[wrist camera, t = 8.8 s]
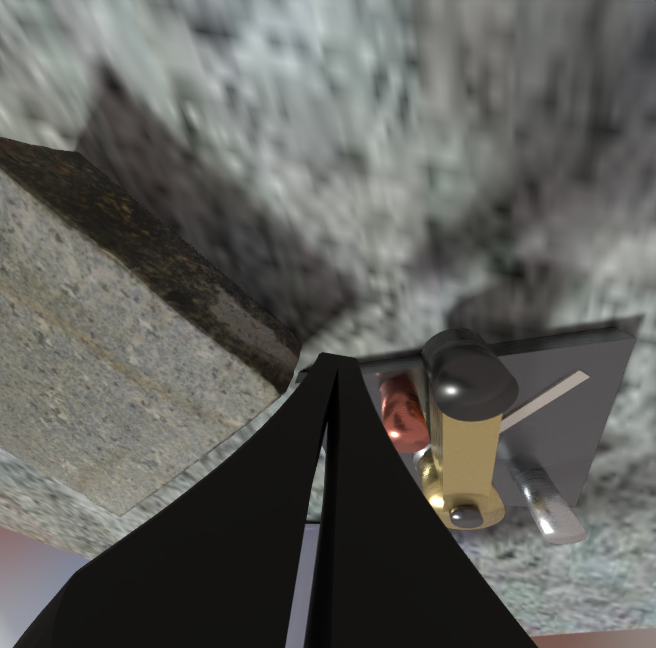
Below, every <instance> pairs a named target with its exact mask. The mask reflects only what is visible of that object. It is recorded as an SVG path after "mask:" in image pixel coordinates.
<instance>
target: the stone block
mask: <svg viewBox="0 0 656 648" xmlns="http://www.w3.org/2000/svg"><path fill="white" fill-rule="evenodd" d="M301 347H302V344H301V343H300V342H299V341H298V340H297V339H296V338H295V337H294V336H293V333H292V332H291V331H290V330H288V329H287V328H286V327H285V326H283V325H282V324H281V323H280V322H278V321H277V320H276V319H275V318H273V317H272V316H271V315H270V314H269V313H268V312H266V311H265V310H264V309H262V308H261V307H260V306H259V305H258V303H257V302H256V301H255V300H253V299H252V298H250V297H249V296H248V295H247V294H246V293H245V292H244V291H243V290H242V289H241V288H240V287H239V286H237V285H236V284H235V283H234V282H232V281H231V280H230V279H228V278H227V277H226V276H225V275H223V274H222V273H221V272H220V271H218V270H217V269H216V267H214V266H213V265H212V264H211V263H210V262H208V261H207V260H206V259H205V258H203V257H202V256H201V255H200V254H199V253H198V252H197V251H196V250H195V249H194V248H193V247H191V246H190V245H189V244H188V243H186V242H185V241H184V240H182V239H181V238H180V237H178V236H177V235H176V234H174V233H173V232H172V231H171V230H169V229H168V228H167V227H166V226H165V225H164V224H163V223H162V222H161V221H160V220H159V219H157V218H156V217H155V216H154V215H153V214H151V213H150V212H149V211H148V210H146V209H145V208H144V207H143V206H141V205H140V204H139V203H138V202H136V201H135V200H134V199H133V198H132V197H131V196H130V195H128V194H127V193H126V192H125V191H123V190H121V189H120V188H119V187H118V186H117V185H116V183H114V182H113V181H112V180H111V179H110V178H108V177H107V176H106V175H105V174H104V173H102V172H101V171H100V170H99V169H98V168H96V167H95V166H94V165H93V164H91V163H90V162H89V161H88V160H87V159H85V158H84V157H83V156H82V155H81V154H79V153H78V152H72V151H64V150H55V149H51V148H48V147H44V146H37V145H30V144H27V143H23V142H19V141H15V140H11V139H7V138H3V137H0V448H2V449H4V450H5V451H7V452H9V453H10V454H12V455H13V456H15V457H17V458H19V459H20V460H22V461H24V462H26V463H28V464H30V465H32V466H33V467H35V468H37V469H38V470H40V471H41V472H43V473H45V474H47V475H49V476H51V477H53V478H54V479H56V480H58V481H60V482H61V483H63V484H64V485H66V486H67V487H69V488H71V489H73V490H74V491H76V492H78V493H81V494H84V495H85V496H86V497H87V498H88V499H89V500H90V501H92V502H94V503H96V504H97V505H99V506H101V507H103V508H104V509H106V510H108V511H109V512H111V513H114V514H116V515H118V516H119V517H120V516H122V515H124V514H125V513H127V512H128V511H130V510H131V509H132V508H134V507H136V506H138V505H139V504H140V503H141V502H143V501H144V500H145V499H146V498H148V497H149V496H151V495H152V494H154V493H155V492H157V491H158V490H160V489H161V488H162V487H163V486H164V485H166V484H167V483H169V482H170V481H172V480H173V479H175V478H176V477H178V476H179V475H180V474H181V473H183V472H184V471H185V470H186V469H188V468H189V467H190V466H192V465H193V464H194V463H196V462H197V461H199V460H201V459H202V458H204V457H205V456H206V455H207V454H208V453H210V452H211V451H212V450H213V449H215V448H216V447H217V446H219V445H220V444H221V443H222V442H224V441H225V440H227V439H229V438H230V437H231V436H232V435H234V434H235V433H236V432H237V431H238V430H240V429H241V428H243V427H244V426H245V425H247V424H248V423H249V422H251V421H252V420H253V419H254V418H255V417H256V416H257V415H259V414H260V413H261V412H262V411H264V410H265V409H266V408H267V407H269V406H270V405H271V404H273V403H274V402H275V401H276V400H277V399H278V398H280V397H281V396H282V395H283V394H284V393H285V392H286V391H287V389H288V386H289V384H290V382H291V380H292V378H293V375H294V370H295V367H296V365H297V362H298V360H299V356H300V351H301Z"/></svg>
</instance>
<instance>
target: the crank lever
mask: <svg viewBox="0 0 656 648" xmlns="http://www.w3.org/2000/svg"><path fill="white" fill-rule="evenodd" d="M421 360H422V363H423V366H424V369H425V372H426V375H427V378H428V380H429V402H430V429H431V451H430V452H428V453H426V454H425V455H423V456H422V457H421V458H420V460H419V461H418V464H417V469H418V474H419V479H420V484H421V489H422V493H423V494H424V496H425V497H426V499H427V500H428V501H429V503H430V504H431V506H432V507H433V509H434V510H435V512H436V513H437V514H438V516H439V517H440V519H441V520H442V522H443V523H444V524H445V526H446V527H447V528H451V529H458V530H474V529H482V528H486V527H489V526H492V525H494V524H496V523H498V522H499V521H501V520H502V519H503V517H504V516H505V508H504V505H503V503H502V501H501V499H500V496H499V494H498V492H497V490H496V488H495V485H494V483H493V481H492V476H493V470H494V463H495V457H496V451H497V445H498V438H499V432H500V426H501V420H502V413H503V412H505V411H506V410H508V409H509V408H510V407H511V406H512V405H513V404H514V402H515V401H516V399H517V397H518V393H519V386H518V383H517V381H516V379H515V378H514V377H513V376H512V374H511V373H510V372H509V371H508V369H507V368H506V367H505V366H504V365H503V363H502V362H501V361H500V360H499V358H498V357H497V356H496V355H495V353H494V352H493V351H492V350H491V349H490V347H489V346H488V345H487V344H486V342H485V341H484V340H483V339H482V338H481V336H479V335H478V334H477V333H475V332H473V331H471V330H467V329H449V330H446V331H443V332H440V333H438V334H436V335H435V336H433V337H432V338H431V339H430V340H429V341H428V342H427V343H426V344H425V346H424V347H423V350H422V353H421Z"/></svg>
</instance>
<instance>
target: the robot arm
mask: <svg viewBox="0 0 656 648" xmlns="http://www.w3.org/2000/svg"><path fill="white" fill-rule="evenodd" d="M327 422H328V423H327ZM326 426H327V441H326V460H325V478H324V493H323V505H322V512H321V520H320V524H306V518H307V512H308V506H309V500H310V494H311V488H312V483H313V479H314V475H315V471H316V467H317V463H318V459H319V455H320V451H321V447H322V443H323V439H324V435H325V430H326ZM13 648H538V647H537V646H536V644H535V643H534V642H533V641H532V640H531V638H530V637H529V636H528V634H527V633H526V632H525V631H524V629H523V628H522V627H521V626H520V624H519V623H518V622H517V621H516V619H515V618H514V617H513V615H512V614H511V613H510V612H509V610H508V609H507V608H506V607H505V605H504V604H503V603H502V601H501V600H500V599H499V598H498V596H497V595H496V594H495V592H494V591H493V590H492V589H491V587H490V586H489V585H488V583H487V582H486V581H485V579H484V578H483V577H482V575H481V574H480V573H479V571H478V570H477V569H476V567H475V566H474V565H473V563H472V562H471V561H470V559H469V558H468V557H467V555H466V554H465V553H464V551H463V550H462V549H461V547H460V546H459V545H458V543H457V542H456V540H455V539H454V537H453V536H452V535H451V533H450V532H449V530H448V529H447V527H446V526H445V524H444V523H443V522H442V520H441V519H440V517H439V516H438V514H437V513H436V512H435V510H434V509H433V507H432V506H431V504H430V503H429V501H428V500H427V499H426V497H425V496H424V494H423V493H422V491H421V489H420V488H419V486H418V485H417V483H416V482H415V480H414V478H413V477H412V475H411V474H410V472H409V470H408V469H407V467H406V465H405V464H404V462H403V460H402V459H401V457H400V455H399V454H398V452H397V450H396V448H395V446H394V445H393V443H392V441H391V439H390V437H389V435H388V433H387V431H386V429H385V427H384V425H383V423H382V421H381V419H380V417H379V415H378V413H377V411H376V409H375V406H374V404H373V402H372V399H371V397H370V395H369V392H368V390H367V387H366V384H365V382H364V379H363V376H362V373H361V370H360V366H359V362H358V360H357V359H356V358H352V357H347V356H341V355H335V354H330V353H324V352H322V353H320V354H319V355H318V358H317V360H316V361H315V363H314V365H313V366H312V368H311V369H310V371H309V372H308V374H307V375H306V377H305V378H304V379H303V381H302V382H301V383H300V385H299V386H298V387H297V388H296V390H295V391H294V392H293V393H292V395H291V396H290V397H289V398H288V399H287V400H286V402H285V403H284V404H283V405H282V406H281V407H280V408H279V409H278V411H277V412H276V413H275V414H274V415H273V416H272V417H271V418H270V419H269V420H268V421H267V422H266V423H265V424H264V425H263V426H262V427H261V428H260V429H259V430H258V431H257V432H256V433H255V434H254V435H253V436H252V437H251V438H250V439H249V440H248V441H246V442H245V443H244V444H243V445H242V446H241V447H240V448H239V449H237V450H236V451H235V452H234V453H233V454H232V455H231V456H230V457H229V458H227V459H226V460H225V461H224V462H223V463H221V464H220V465H219V466H218V467H217V468H215V469H214V470H213V471H212V472H211V473H209V474H208V475H207V476H206V477H204V478H203V479H202V480H200V481H199V482H198V483H197V484H195V485H194V486H193V487H191V488H190V489H189V490H188V491H186V492H185V493H184V494H183V495H181V496H180V497H179V498H177V499H176V500H175V501H174V502H172V503H171V504H170V505H168V506H167V507H166V508H164V509H163V510H162V511H160V512H159V513H158V514H156V515H155V516H154V517H152V518H151V519H149V520H148V521H146V522H145V523H144V524H142V525H141V526H139V527H138V528H137V529H135V530H134V531H132V532H131V533H130V534H128V535H127V536H125V537H124V538H122V539H121V540H120V541H118V542H117V543H115V544H114V545H113V546H111V547H110V548H108V549H107V550H106V551H104V552H103V553H101V554H100V555H98V556H97V557H96V558H94V559H93V560H91V561H90V562H89V563H87V564H86V565H84V566H83V567H82V568H80V569H79V570H78V571H76V572H75V573H74V574H73V575H72V577H71V578H70V579H69V580H68V581H67V583H66V584H65V585H64V586H63V587H62V588H61V590H60V591H59V592H58V593H57V594H56V596H55V597H54V598H53V599H52V600H51V601H50V603H49V604H48V605H47V606H46V607H45V608H44V609H43V610H42V612H41V613H40V614H39V615H38V616H37V618H36V619H35V620H34V621H33V622H32V624H31V625H30V626H29V627H28V629H27V630H26V631H25V632H24V634H23V635H22V636H21V637H20V639H19V640H18V642H17V643H16V644H15V645H14V647H13Z"/></svg>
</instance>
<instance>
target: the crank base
mask: <svg viewBox="0 0 656 648" xmlns="http://www.w3.org/2000/svg"><path fill="white" fill-rule="evenodd" d="M635 341H636V338H635V337H633V336H631V335H629V334H628V333H626V332H624V331H622V330H620V329H618V328H616V327H610V328H603V329H596V330H589V331H583V332H576V333H569V334H562V335H555V336H548V337H541V338H534V339H527V340H520V341H513V342H506V343H499V344H492V345H488V346H489V347H490V349H491V350H492V351H493V352H494V353H495V355H496V356H497V357H498V358H499V360H500V361H501V362H502V363H503V365H504V366H505V367H506V368H507V369H508V371H509V372H510V373H511V374H512V376H513V377H514V378H515V379H516V381H517V383H518V386H519V393H518V397H517V399H516V401H515V402H514V404H513V405H512V406H511V407H510V408H509V409H508V410H506V411H505V412H503V413H502V420H501V426H500V432H499V438H498V445H497V451H496V457H495V463H494V470H493V476H492V481H493V483H494V485H495V488H496V490H497V492H498V494H499V496H500V499H501V501H502V503H503V505H504V507H528V509H529V511H530V513H531V515H532V517H533V519H534V521H535V522H536V524H537V526H538V528H539V530H540V532H541V534H542V536H543V538H544V539H545V540H546V541H548V542H550V543H554V544H573V543H577V542H580V541H582V540H584V539H585V538H586V537H587V533H586V532H585V530H584V529H583V527H582V525H581V524H580V522H579V521H578V519H577V518H576V516H575V515H574V513H573V512H572V510H571V509H570V507H569V506H576V504H577V502H578V499H579V496H580V493H581V491H582V488H583V485H584V482H585V480H586V477H587V474H588V471H589V468H590V466H591V463H592V460H593V457H594V455H595V452H596V449H597V446H598V443H599V441H600V438H601V435H602V432H603V430H604V427H605V424H606V421H607V418H608V416H609V413H610V410H611V407H612V405H613V402H614V399H615V396H616V393H617V391H618V388H619V385H620V382H621V380H622V377H623V374H624V371H625V368H626V366H627V363H628V360H629V357H630V355H631V352H632V349H633V346H634V343H635ZM359 366H360V370H361V373H362V376H363V379H364V382H365V384H366V387H367V390H368V392H369V395H370V397H371V399H372V402H373V404H374V406H375V409H376V411H377V413H378V415H379V417H380V419H381V421H382V423H383V425H384V427H385V429H386V431H387V433H388V435H389V437H390V439H391V441H392V443H393V445H394V446H395V448H396V450H397V452H398V454H399V455H400V457H401V459H402V460H403V462H404V464H405V465H406V467H407V469H408V470H409V472H410V474H411V475H412V477H413V478H414V480H415V482H416V483H417V485H418V486H419V488H420V489H421V484H420V479H419V474H418V469H417V464H418V461H419V460H420V458H421V457H422V456H423V455H425V454H426V453H428V452H430V451H431V429H430V402H429V380H428V378H427V375H426V372H425V369H424V366H423V363H422V360H421V355H416V356H409V357H402V358H395V359H388V360H381V361H374V362H367V363H360V364H359ZM308 372H309V371H305V372H299V373H298V376H297V379H296V382H295V385H296V387H298V386H299V385H300V383H301V382H302V381H303V379H304V378H305V377H306V375H307V374H308ZM327 423H328V422H327ZM326 441H327V426H326V430H325V435H324V439H323V443H322V446H323V448H324V450H325V453H326ZM421 491H422V489H421Z"/></svg>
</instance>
